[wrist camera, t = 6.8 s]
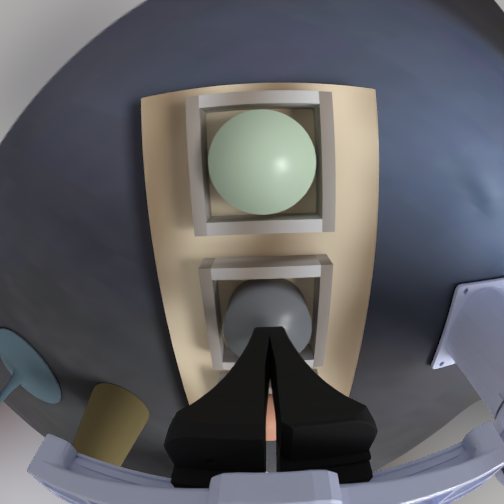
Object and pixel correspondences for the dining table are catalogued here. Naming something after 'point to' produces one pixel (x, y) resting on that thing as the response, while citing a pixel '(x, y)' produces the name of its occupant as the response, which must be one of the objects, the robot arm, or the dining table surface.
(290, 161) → the sage button
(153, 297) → the dining table surface
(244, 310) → the charcoal button
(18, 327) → the dining table surface
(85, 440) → the cork
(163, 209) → the button board
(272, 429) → the terracotta button
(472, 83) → the dining table surface
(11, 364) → the cocktail glass
